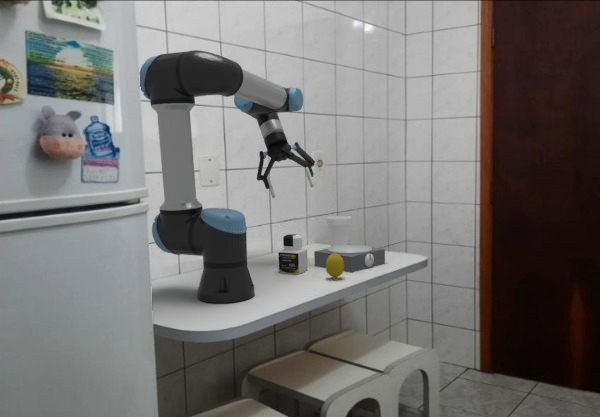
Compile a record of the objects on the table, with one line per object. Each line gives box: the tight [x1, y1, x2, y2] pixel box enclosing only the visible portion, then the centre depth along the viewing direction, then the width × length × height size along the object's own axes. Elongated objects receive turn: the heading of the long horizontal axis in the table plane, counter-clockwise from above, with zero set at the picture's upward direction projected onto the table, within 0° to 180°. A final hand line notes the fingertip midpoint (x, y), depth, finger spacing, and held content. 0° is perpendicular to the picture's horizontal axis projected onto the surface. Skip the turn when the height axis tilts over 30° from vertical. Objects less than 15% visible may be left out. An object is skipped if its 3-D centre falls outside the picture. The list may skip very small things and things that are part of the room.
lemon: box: [325, 253, 345, 280], centre depth 161 cm, size 6×6×8 cm
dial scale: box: [313, 243, 386, 273], centre depth 181 cm, size 18×17×6 cm
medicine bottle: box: [277, 233, 309, 275], centre depth 172 cm, size 7×7×12 cm
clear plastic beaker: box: [326, 215, 352, 247], centre depth 209 cm, size 10×9×13 cm
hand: (293, 191), depth 176 cm, fingers open, 13 cm apart
